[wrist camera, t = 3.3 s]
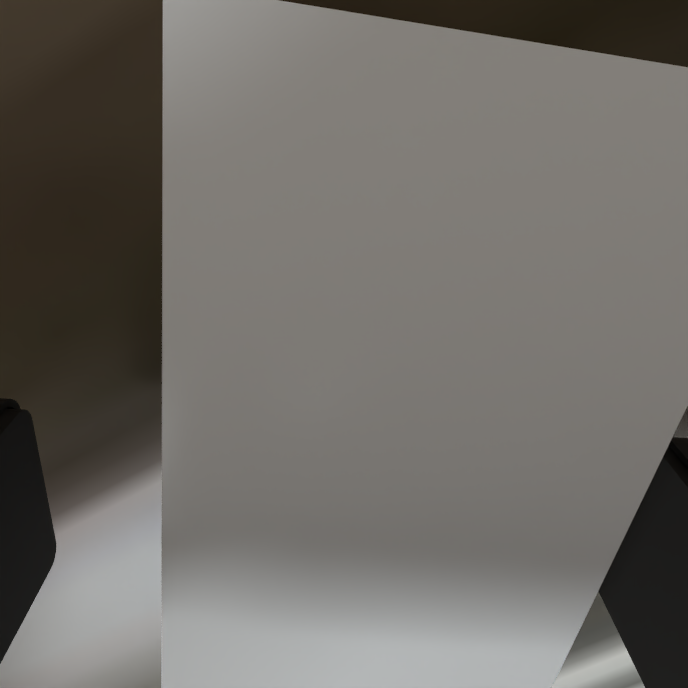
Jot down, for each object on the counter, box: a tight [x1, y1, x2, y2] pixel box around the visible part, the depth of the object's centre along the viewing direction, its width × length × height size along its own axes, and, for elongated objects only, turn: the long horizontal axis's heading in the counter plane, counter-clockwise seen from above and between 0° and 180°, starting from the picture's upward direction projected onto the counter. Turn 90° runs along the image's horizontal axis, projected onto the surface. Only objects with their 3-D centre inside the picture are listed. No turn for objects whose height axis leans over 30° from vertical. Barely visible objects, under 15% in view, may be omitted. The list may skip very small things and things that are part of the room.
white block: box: [161, 0, 688, 688], centre depth 9 cm, size 4×13×5 cm, turn 172°
